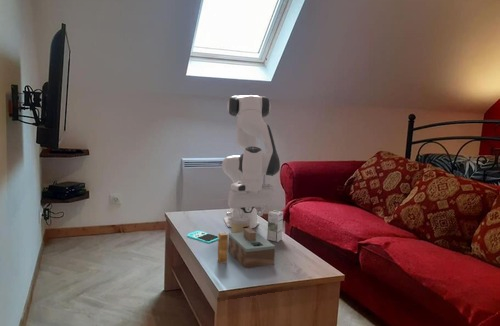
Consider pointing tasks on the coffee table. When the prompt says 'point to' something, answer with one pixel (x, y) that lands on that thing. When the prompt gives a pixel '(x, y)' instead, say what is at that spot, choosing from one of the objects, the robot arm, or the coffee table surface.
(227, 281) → the coffee table surface
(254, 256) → the toolbox
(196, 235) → the handheld game console
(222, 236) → the wooden block
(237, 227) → the coffee cup
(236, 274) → the coffee table surface
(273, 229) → the syrup box
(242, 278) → the coffee table surface
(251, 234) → the toolbox lid
